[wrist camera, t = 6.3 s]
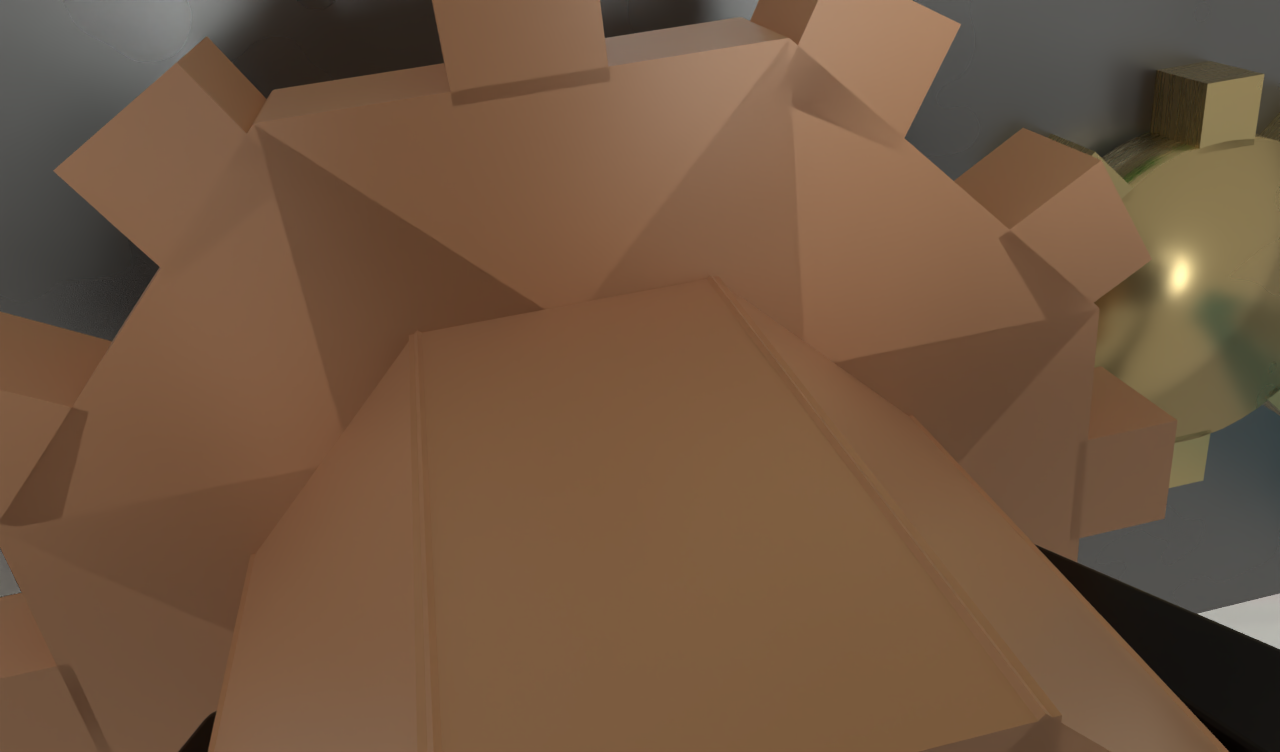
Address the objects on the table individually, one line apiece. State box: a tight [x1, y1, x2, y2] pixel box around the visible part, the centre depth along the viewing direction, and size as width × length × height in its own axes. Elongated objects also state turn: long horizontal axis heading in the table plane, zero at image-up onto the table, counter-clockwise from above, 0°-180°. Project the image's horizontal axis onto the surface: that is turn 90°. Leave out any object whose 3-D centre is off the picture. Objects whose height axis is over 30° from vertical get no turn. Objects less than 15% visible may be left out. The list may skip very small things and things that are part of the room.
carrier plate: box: [0, 0, 1280, 614], centre depth 11 cm, size 12×19×7 cm, turn 97°
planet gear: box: [0, 0, 1229, 752], centre depth 8 cm, size 11×11×6 cm
